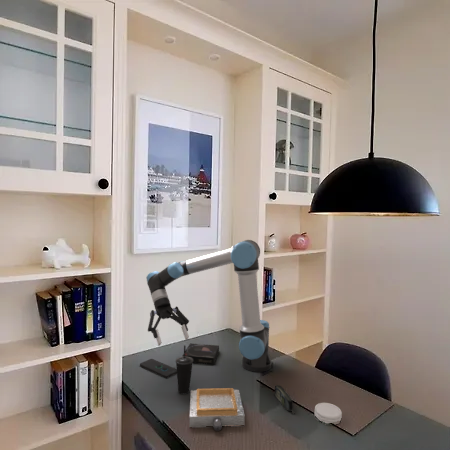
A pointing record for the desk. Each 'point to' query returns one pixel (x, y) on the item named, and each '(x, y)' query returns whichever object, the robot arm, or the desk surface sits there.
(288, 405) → the mobile phone
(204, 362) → the portable cd player
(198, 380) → the desk surface
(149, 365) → the smart home device
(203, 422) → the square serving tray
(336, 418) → the coaster
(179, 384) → the drinking cup
